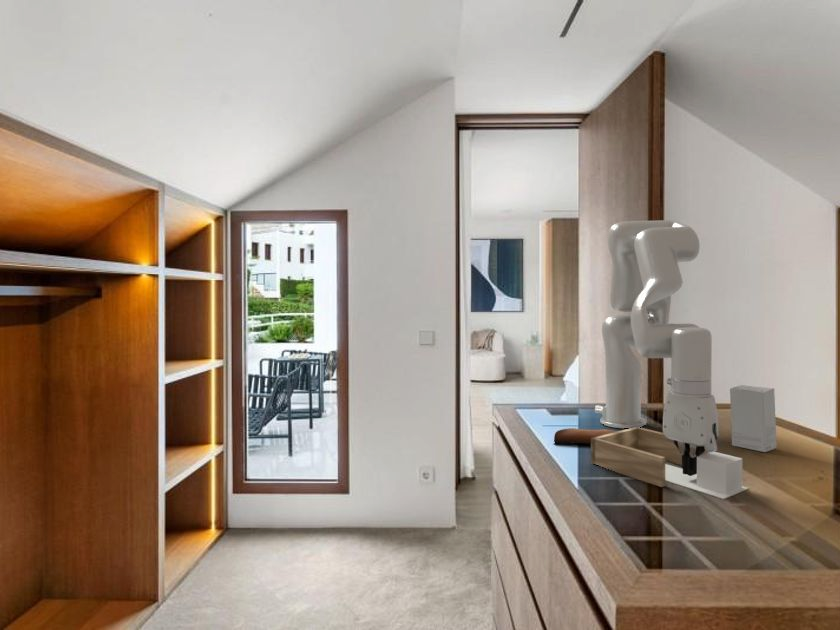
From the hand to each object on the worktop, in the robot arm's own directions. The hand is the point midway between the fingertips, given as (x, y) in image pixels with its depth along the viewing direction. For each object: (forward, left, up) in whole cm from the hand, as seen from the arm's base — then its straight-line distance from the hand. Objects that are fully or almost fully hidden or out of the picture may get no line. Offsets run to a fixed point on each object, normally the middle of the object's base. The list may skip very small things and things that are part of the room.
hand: (690, 473), depth 120 cm
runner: (-3, +1, -1) cm, 4 cm away
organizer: (-10, +2, -1) cm, 10 cm away
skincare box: (+2, +33, -2) cm, 33 cm away
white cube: (+6, -1, -1) cm, 6 cm away
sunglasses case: (-30, +10, -2) cm, 32 cm away
